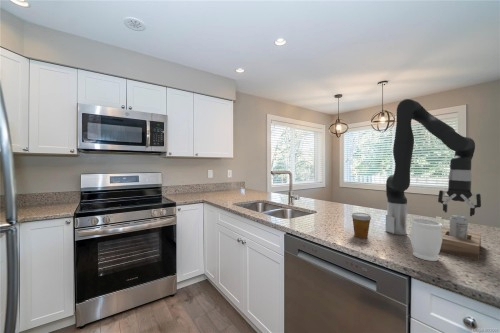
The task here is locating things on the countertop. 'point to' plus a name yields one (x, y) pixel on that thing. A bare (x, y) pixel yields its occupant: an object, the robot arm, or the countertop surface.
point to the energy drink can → (458, 226)
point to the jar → (426, 239)
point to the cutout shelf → (461, 244)
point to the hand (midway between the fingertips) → (458, 214)
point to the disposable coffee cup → (361, 224)
